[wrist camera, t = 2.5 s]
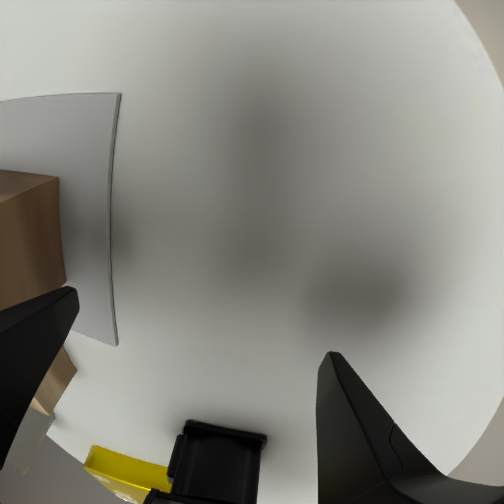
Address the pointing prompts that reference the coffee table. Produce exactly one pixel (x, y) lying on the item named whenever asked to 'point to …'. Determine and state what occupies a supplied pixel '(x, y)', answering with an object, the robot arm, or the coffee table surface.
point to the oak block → (54, 383)
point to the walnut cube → (29, 237)
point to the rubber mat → (72, 187)
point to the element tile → (126, 474)
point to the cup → (28, 439)
